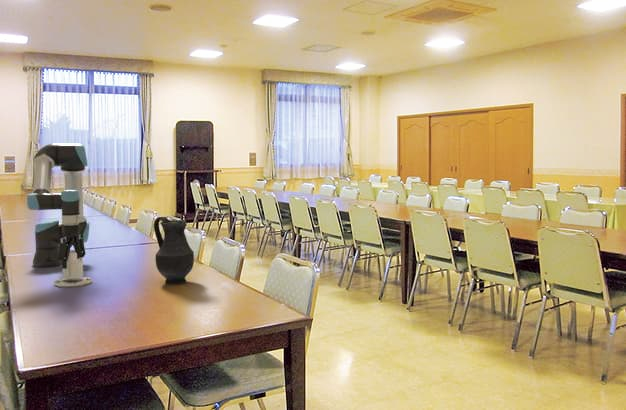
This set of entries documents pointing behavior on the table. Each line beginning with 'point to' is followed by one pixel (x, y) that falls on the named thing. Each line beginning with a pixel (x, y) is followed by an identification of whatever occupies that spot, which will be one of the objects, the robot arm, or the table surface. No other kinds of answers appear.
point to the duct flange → (73, 282)
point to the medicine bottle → (74, 266)
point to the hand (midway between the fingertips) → (72, 273)
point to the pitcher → (173, 251)
